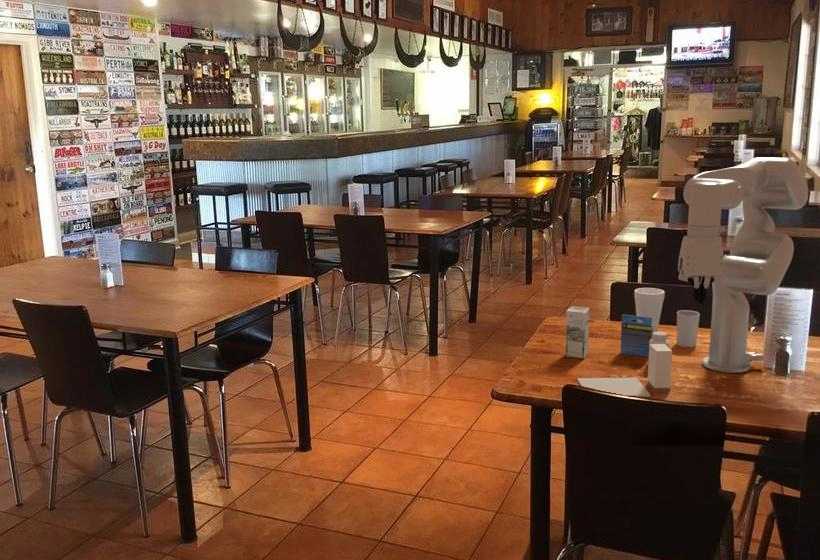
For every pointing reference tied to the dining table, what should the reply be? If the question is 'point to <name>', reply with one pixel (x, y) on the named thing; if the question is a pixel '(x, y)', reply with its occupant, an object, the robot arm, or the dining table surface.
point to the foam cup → (649, 304)
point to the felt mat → (616, 386)
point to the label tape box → (636, 335)
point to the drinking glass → (687, 328)
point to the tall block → (659, 367)
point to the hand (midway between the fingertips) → (698, 302)
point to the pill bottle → (658, 339)
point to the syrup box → (577, 332)
